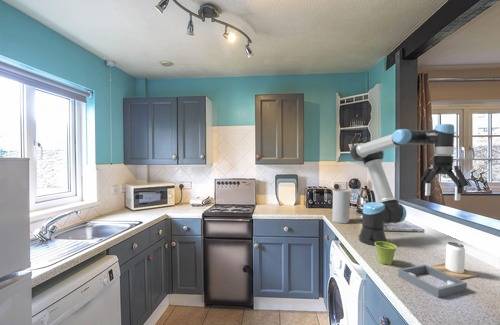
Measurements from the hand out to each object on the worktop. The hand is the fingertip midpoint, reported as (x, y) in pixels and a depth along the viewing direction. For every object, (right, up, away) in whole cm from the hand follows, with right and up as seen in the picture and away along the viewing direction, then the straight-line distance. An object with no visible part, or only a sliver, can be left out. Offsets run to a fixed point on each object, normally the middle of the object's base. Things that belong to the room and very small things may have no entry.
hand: (441, 197), depth 116 cm
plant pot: (-30, -32, -2) cm, 44 cm away
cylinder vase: (-24, -30, +69) cm, 79 cm away
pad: (-3, -32, -10) cm, 34 cm away
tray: (-22, -32, -21) cm, 44 cm away
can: (-3, -32, -11) cm, 34 cm away
